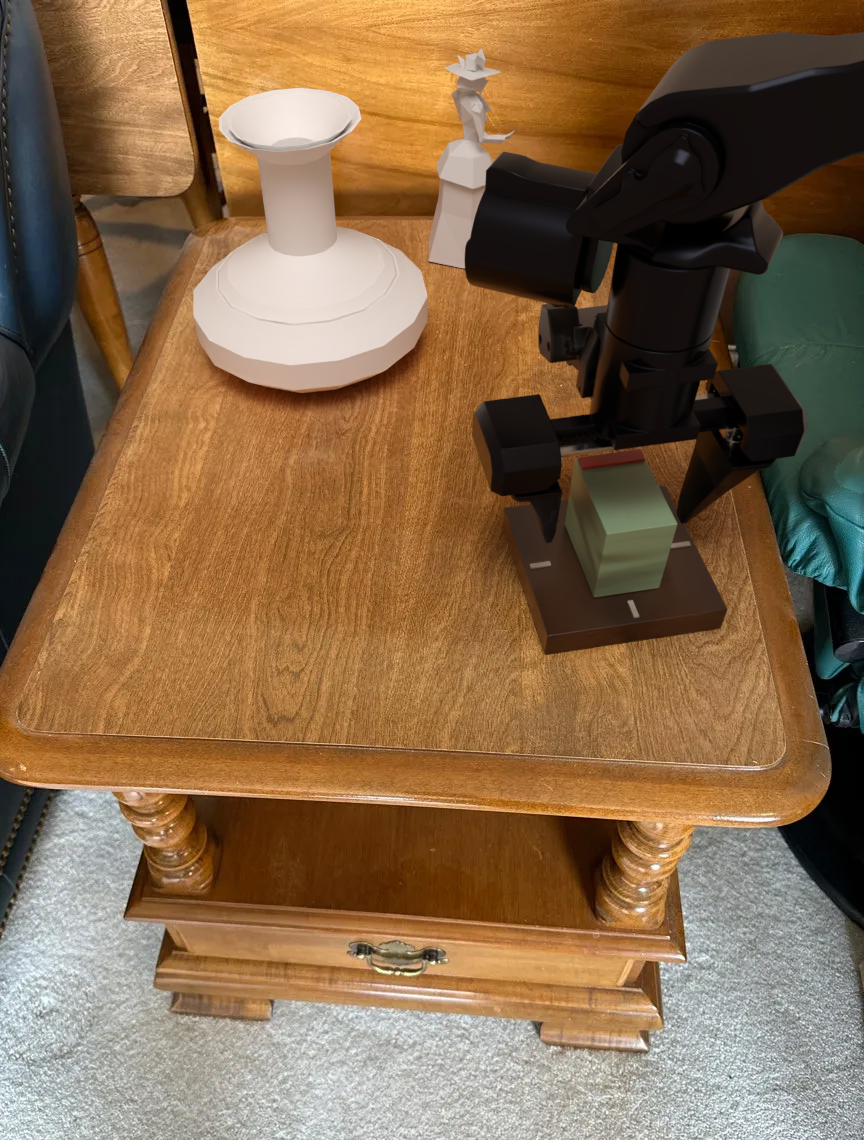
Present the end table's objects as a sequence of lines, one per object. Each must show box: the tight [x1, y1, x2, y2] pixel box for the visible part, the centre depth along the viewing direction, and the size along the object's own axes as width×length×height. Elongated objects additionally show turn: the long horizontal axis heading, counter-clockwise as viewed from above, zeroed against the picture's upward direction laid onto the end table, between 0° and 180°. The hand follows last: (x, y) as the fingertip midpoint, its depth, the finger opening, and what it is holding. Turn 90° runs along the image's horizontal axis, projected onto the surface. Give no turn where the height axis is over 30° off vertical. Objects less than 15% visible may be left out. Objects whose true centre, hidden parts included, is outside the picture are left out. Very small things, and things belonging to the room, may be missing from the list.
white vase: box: [192, 87, 429, 394], centre depth 77 cm, size 20×20×19 cm
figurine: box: [427, 47, 516, 270], centre depth 86 cm, size 7×8×18 cm
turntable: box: [501, 484, 728, 656], centre depth 66 cm, size 12×12×2 cm
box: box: [565, 448, 677, 597], centre depth 63 cm, size 7×4×6 cm, turn 9°
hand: (614, 528), depth 63 cm, fingers open, 9 cm apart
